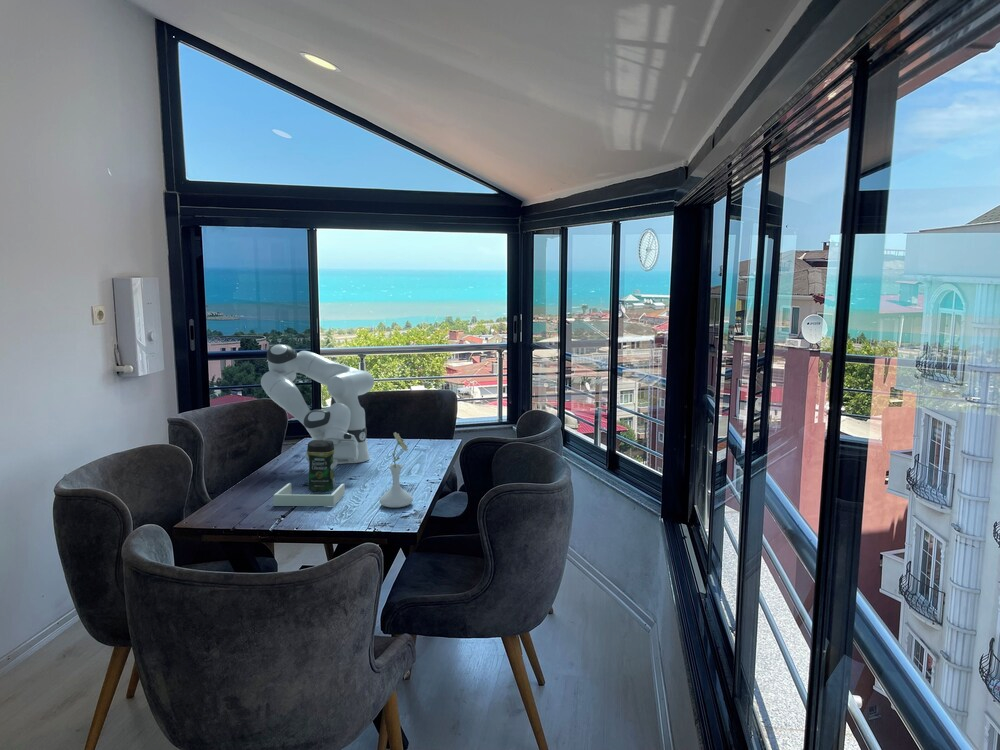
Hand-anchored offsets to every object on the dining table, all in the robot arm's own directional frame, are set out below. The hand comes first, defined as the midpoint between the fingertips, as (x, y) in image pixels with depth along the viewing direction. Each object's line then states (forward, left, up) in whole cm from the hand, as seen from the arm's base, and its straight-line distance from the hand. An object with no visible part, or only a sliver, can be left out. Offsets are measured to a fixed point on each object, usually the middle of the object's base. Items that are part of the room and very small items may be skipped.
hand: (328, 470), depth 251 cm
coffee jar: (+5, -8, -5) cm, 10 cm away
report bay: (+11, -19, -5) cm, 23 cm away
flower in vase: (+40, -7, -5) cm, 41 cm away
